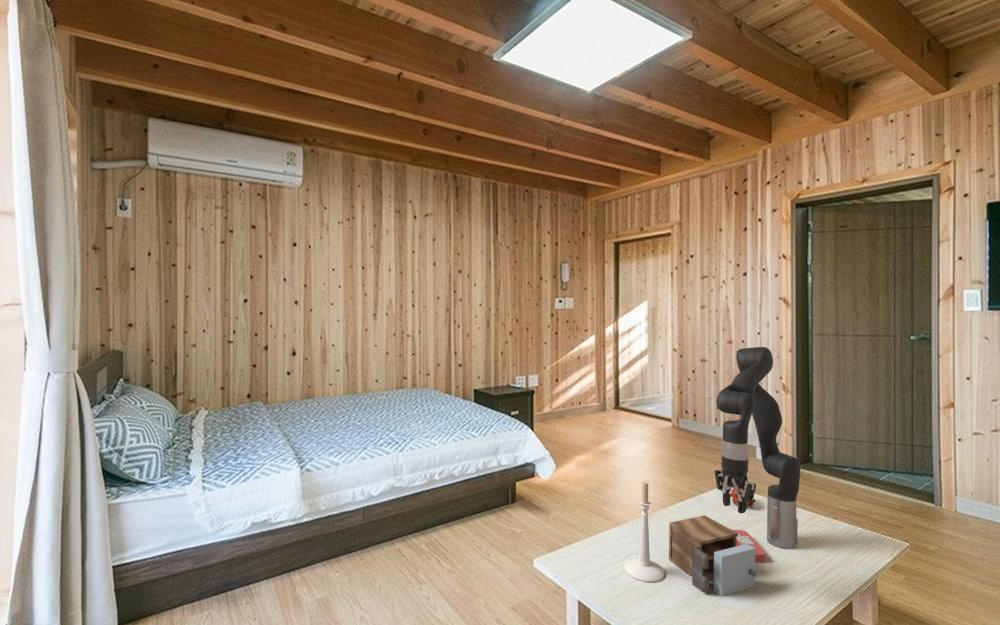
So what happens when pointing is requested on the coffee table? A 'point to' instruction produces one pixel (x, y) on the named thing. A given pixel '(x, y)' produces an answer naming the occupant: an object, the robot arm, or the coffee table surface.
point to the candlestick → (644, 550)
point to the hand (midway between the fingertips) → (734, 508)
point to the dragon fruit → (735, 499)
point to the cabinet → (698, 547)
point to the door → (734, 569)
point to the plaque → (747, 539)
